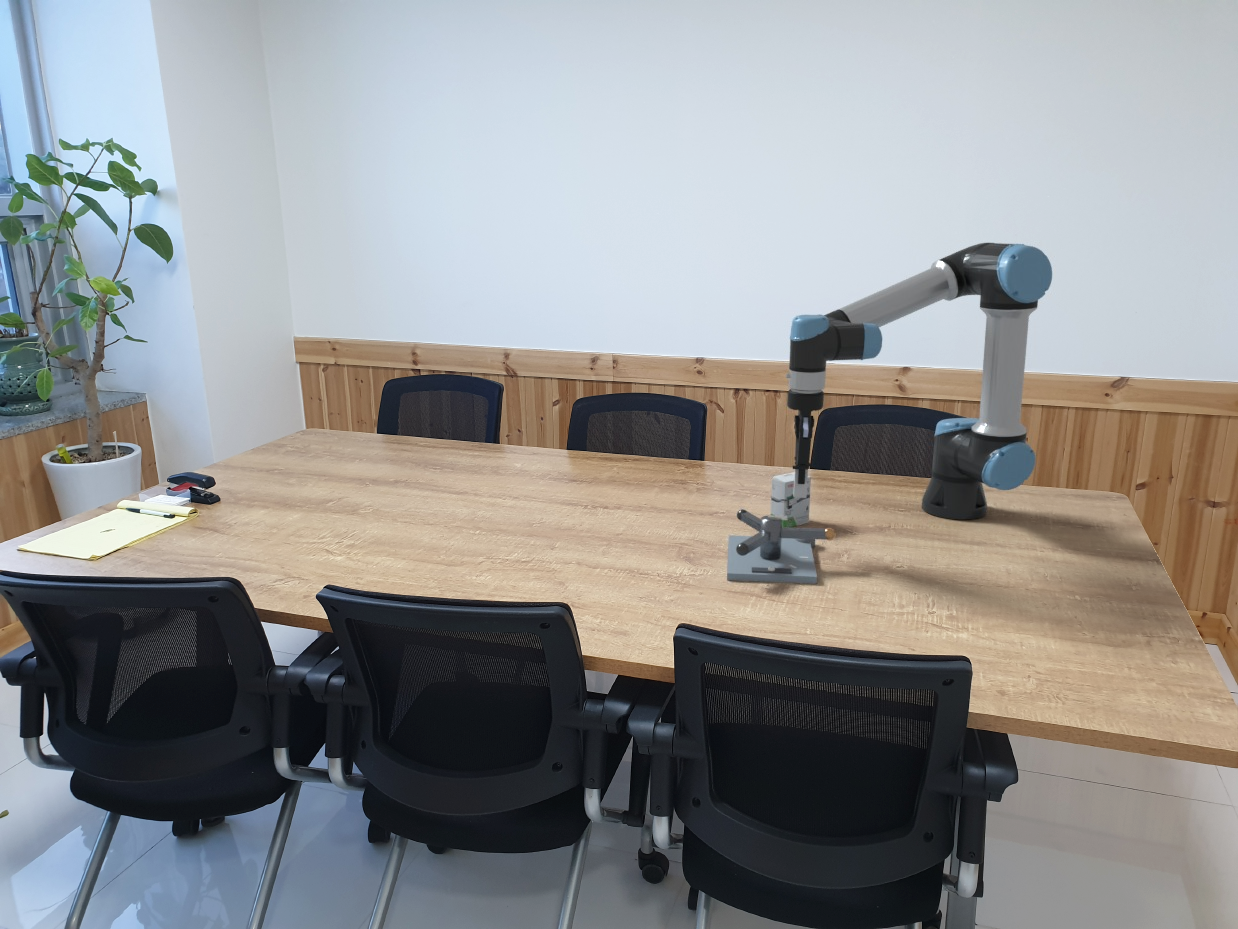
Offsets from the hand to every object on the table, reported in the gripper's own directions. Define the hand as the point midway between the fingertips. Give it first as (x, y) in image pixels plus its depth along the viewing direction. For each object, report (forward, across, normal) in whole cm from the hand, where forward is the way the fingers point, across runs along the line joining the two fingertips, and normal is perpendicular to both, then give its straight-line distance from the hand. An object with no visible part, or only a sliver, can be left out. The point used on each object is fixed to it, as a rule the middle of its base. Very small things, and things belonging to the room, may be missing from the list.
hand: (799, 496), depth 197 cm
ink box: (+13, -18, -1) cm, 22 cm away
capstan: (+11, +8, -3) cm, 14 cm away
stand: (+13, +7, -6) cm, 16 cm away
